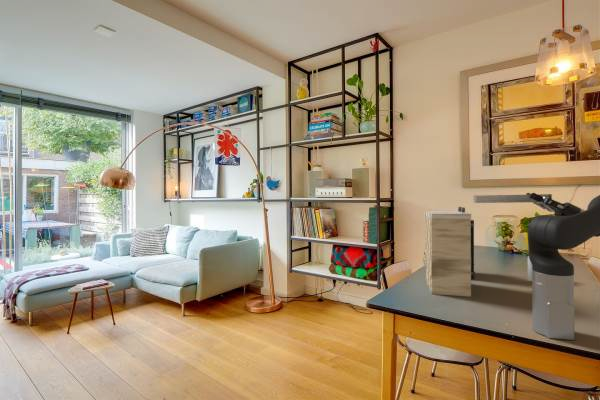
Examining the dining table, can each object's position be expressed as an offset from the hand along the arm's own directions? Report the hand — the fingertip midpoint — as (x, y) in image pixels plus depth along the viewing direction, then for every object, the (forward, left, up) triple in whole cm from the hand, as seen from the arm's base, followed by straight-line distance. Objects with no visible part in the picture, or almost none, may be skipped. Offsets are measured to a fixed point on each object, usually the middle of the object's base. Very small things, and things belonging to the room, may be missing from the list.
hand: (528, 194), depth 124 cm
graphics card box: (+25, +21, -39) cm, 51 cm away
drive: (0, +6, -3) cm, 7 cm away
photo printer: (+21, -11, -39) cm, 46 cm away
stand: (0, +30, -39) cm, 49 cm away
